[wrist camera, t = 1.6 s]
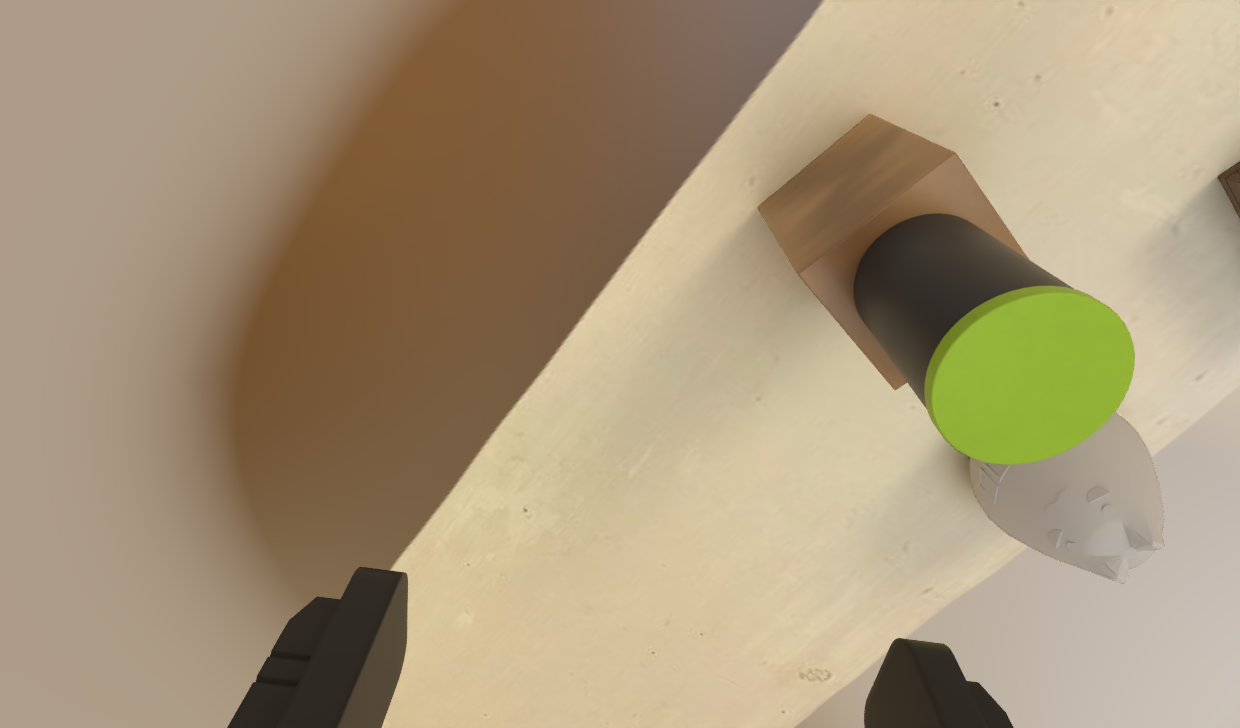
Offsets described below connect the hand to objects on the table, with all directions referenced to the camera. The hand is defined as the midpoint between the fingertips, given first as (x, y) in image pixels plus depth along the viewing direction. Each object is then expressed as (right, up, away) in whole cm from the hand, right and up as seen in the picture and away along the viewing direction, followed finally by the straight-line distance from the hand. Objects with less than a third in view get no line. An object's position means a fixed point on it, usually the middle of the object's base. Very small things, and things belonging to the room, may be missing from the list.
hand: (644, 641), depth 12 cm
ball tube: (+13, +8, +20) cm, 26 cm away
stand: (+13, +14, +31) cm, 36 cm away
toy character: (+28, -1, +38) cm, 47 cm away
